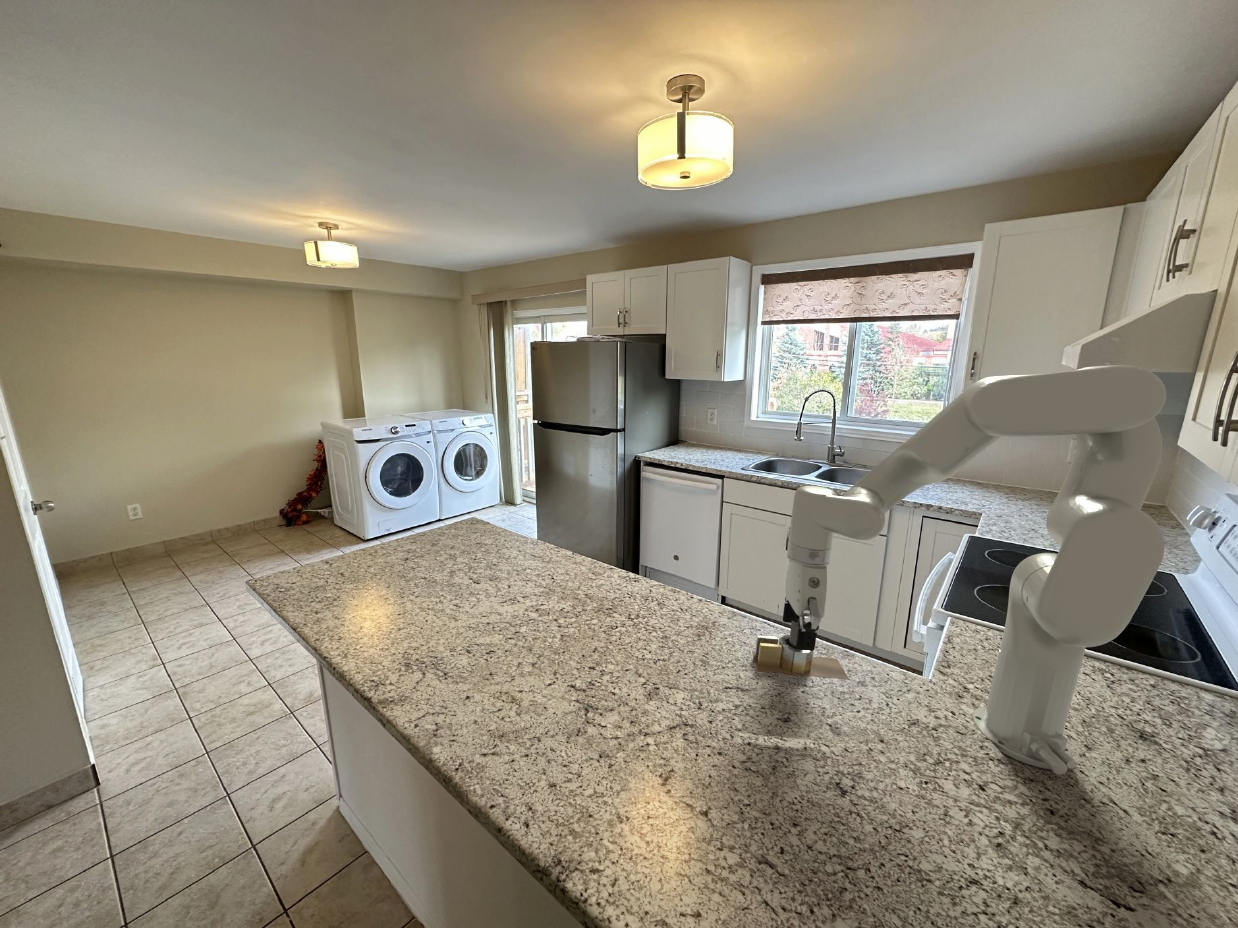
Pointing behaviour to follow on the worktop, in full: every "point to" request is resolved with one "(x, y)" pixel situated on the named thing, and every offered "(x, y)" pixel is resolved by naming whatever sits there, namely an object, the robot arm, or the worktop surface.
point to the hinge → (782, 655)
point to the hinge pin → (794, 632)
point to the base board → (813, 668)
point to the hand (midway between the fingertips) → (797, 635)
